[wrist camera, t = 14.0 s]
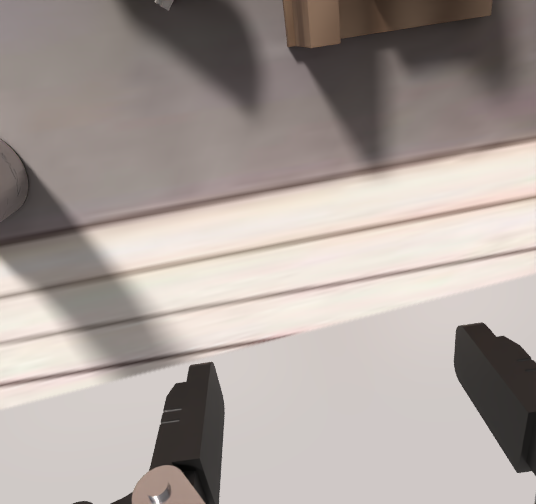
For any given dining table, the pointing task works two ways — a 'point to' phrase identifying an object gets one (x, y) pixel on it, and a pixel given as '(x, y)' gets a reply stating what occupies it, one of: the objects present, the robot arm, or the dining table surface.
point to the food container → (164, 3)
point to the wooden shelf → (369, 17)
